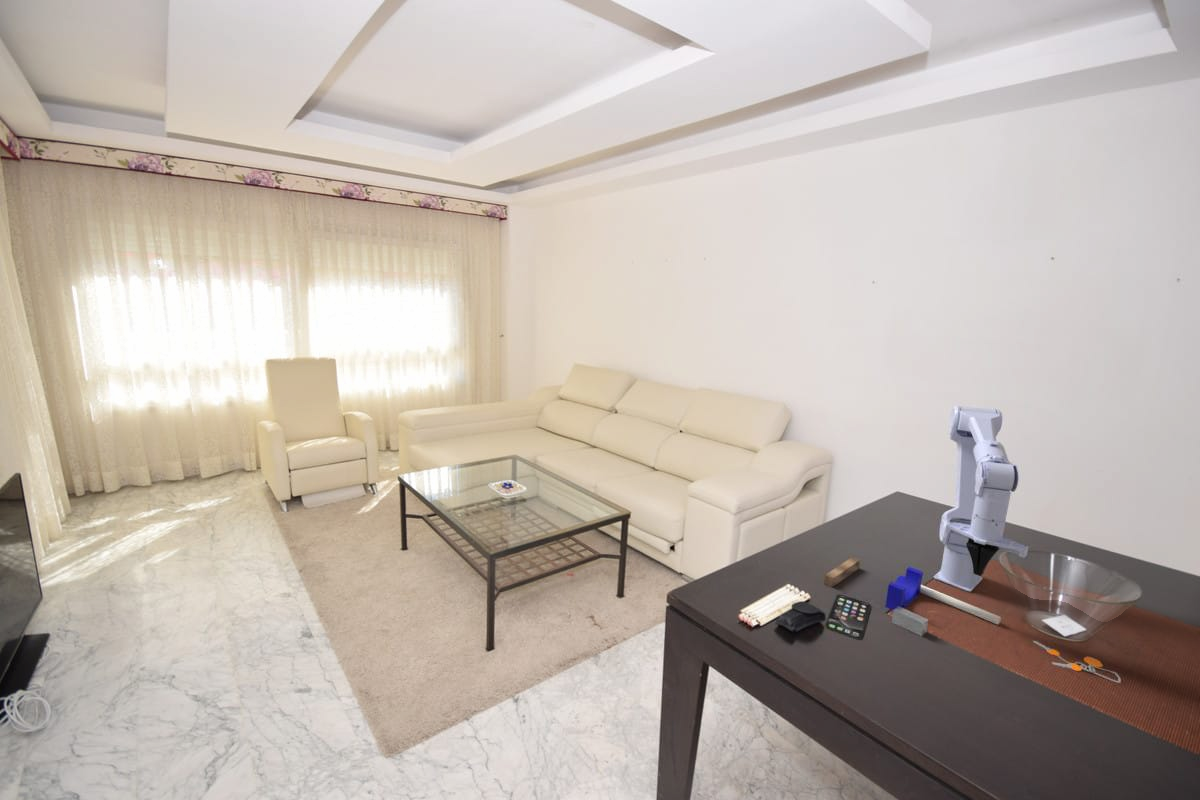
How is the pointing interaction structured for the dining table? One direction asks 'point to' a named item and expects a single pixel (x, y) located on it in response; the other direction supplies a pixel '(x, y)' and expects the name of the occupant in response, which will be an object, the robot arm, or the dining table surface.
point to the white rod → (960, 605)
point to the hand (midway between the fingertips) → (978, 573)
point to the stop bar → (841, 572)
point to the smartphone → (848, 616)
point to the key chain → (1076, 667)
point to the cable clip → (904, 589)
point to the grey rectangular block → (910, 621)
